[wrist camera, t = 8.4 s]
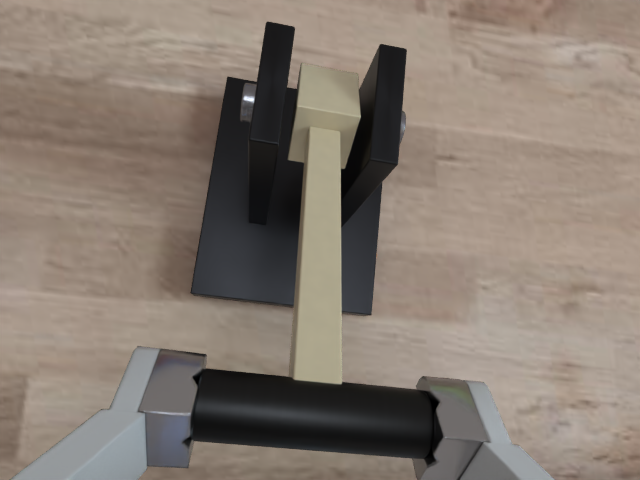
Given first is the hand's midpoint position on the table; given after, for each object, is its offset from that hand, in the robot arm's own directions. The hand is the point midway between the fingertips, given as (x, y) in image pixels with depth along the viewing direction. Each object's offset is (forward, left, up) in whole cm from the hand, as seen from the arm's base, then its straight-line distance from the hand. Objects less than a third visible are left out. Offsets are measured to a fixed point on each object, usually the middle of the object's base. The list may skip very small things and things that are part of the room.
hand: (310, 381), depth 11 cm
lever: (+3, +2, -3) cm, 5 cm away
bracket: (+8, +5, -16) cm, 18 cm away
